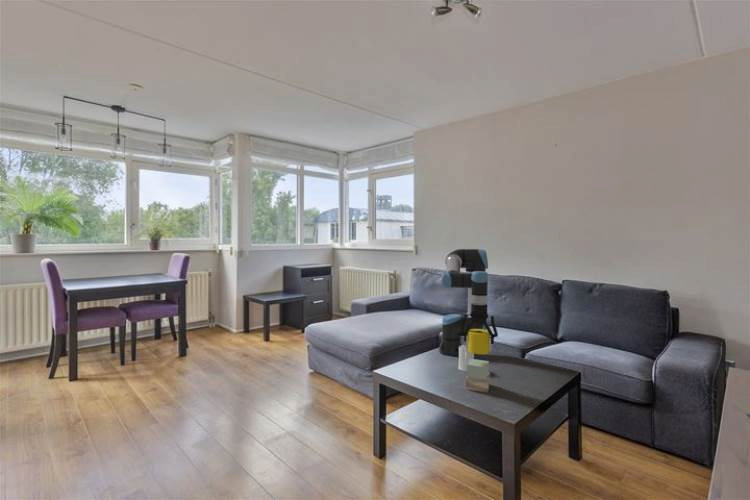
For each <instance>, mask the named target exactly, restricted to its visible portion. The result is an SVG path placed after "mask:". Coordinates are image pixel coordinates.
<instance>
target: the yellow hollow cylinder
mask: <svg viewBox="0 0 750 500" xmlns="http://www.w3.org/2000/svg"><path fill="white" fill-rule="evenodd" d="M489 337H490V334H489V333H488V331H487V329H486V330H483V329H470V330H469V331H468V351H469V352H471V353H474V355H475V354H476V355H488V354H490V353H491V352H490V351H489Z"/></svg>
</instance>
